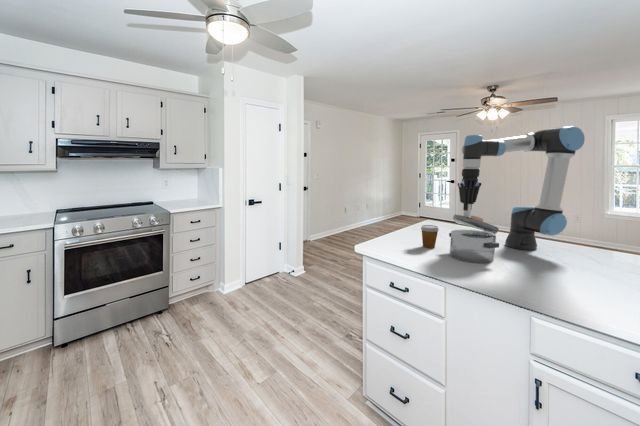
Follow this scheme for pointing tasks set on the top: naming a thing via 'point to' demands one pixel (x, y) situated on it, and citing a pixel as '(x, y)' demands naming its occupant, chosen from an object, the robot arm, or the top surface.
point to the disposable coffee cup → (429, 236)
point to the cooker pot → (473, 245)
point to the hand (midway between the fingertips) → (466, 216)
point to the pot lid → (475, 223)
